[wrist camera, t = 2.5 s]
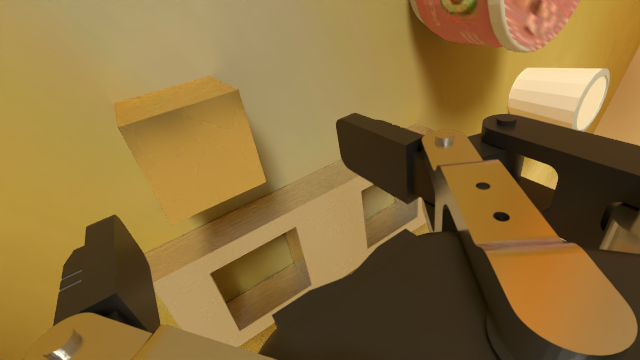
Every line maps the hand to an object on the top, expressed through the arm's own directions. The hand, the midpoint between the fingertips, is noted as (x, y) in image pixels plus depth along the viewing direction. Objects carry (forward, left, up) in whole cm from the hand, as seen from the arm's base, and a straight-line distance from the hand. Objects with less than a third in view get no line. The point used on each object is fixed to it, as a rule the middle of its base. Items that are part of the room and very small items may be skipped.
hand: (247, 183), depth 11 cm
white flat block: (+6, -11, -9) cm, 16 cm away
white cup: (+36, -9, -10) cm, 39 cm away
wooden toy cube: (-1, 0, -9) cm, 9 cm away
